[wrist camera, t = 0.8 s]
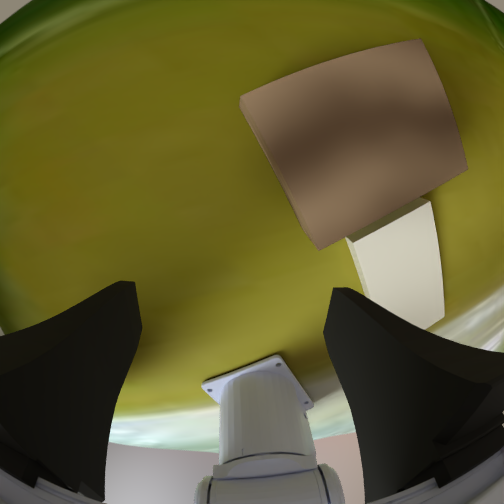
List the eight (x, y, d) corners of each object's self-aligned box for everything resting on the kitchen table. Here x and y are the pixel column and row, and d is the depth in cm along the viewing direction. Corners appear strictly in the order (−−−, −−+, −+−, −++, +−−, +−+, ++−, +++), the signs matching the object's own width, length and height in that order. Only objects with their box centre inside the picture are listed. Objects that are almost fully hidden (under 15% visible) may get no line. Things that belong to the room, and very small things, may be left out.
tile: (433, 305, 23) (444, 316, 21) (376, 340, 24) (385, 353, 22) (415, 195, 19) (430, 201, 17) (342, 233, 19) (352, 243, 18)
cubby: (433, 161, 17) (468, 169, 13) (302, 228, 19) (318, 250, 15) (390, 51, 14) (420, 38, 10) (239, 107, 15) (240, 96, 12)
